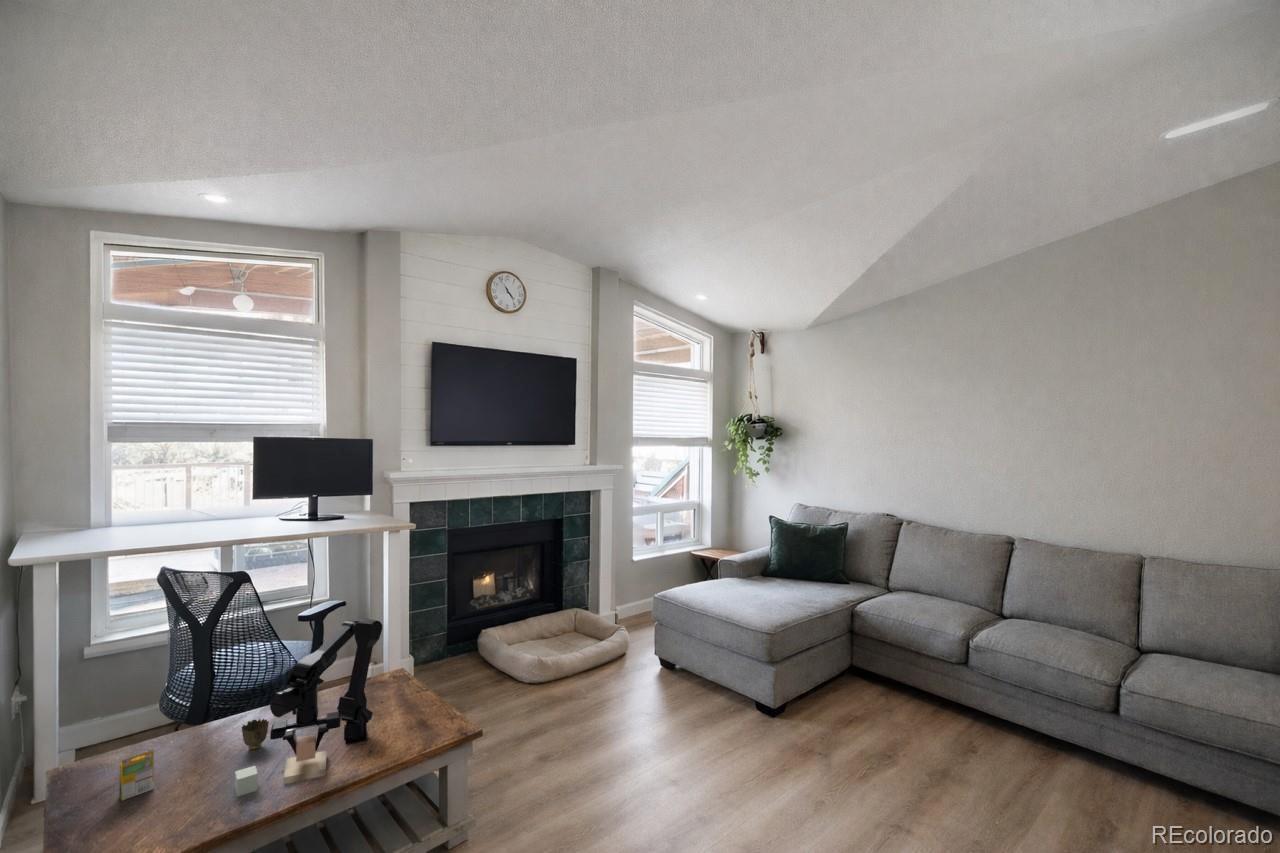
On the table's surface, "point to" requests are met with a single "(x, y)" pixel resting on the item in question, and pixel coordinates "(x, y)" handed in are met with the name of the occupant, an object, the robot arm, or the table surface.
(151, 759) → the crayon box
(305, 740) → the terracotta cube
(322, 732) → the robot arm
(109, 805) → the table surface
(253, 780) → the sage cube
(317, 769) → the plinth
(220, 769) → the table surface
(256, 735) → the cup
